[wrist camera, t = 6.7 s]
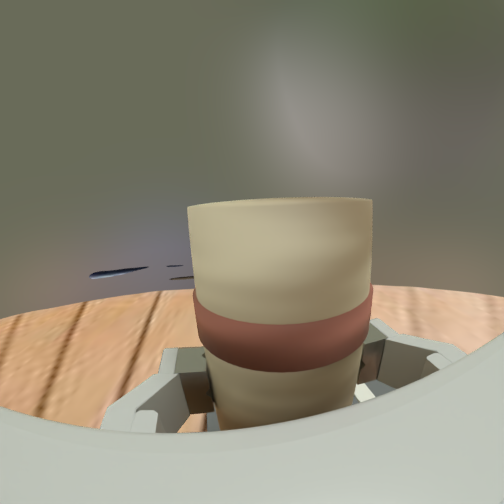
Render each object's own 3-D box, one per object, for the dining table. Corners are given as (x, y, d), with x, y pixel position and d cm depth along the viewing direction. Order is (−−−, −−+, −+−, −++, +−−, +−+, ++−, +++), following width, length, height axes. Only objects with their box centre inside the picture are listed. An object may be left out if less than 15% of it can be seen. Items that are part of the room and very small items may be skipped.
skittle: (234, 516, 7) (169, 214, 5) (224, 437, 12) (190, 204, 10) (351, 490, 8) (417, 202, 5) (316, 421, 13) (327, 196, 10)
